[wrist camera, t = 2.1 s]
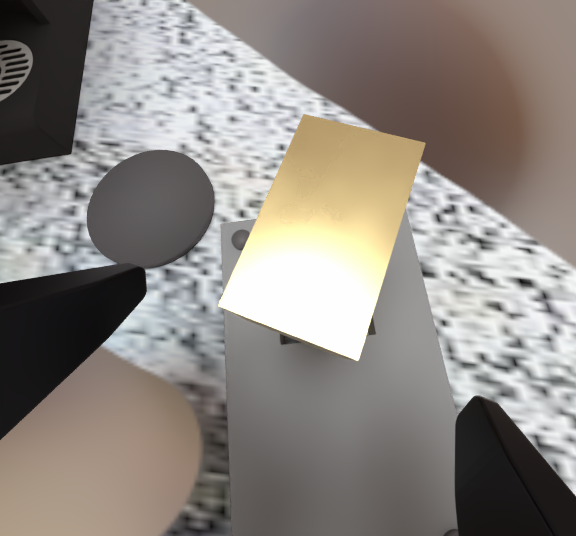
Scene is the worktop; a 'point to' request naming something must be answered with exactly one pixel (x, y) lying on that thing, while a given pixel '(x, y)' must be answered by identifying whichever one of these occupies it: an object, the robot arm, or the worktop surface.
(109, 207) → the rubber mat
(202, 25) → the worktop surface
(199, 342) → the worktop surface
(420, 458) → the slot plate
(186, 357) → the worktop surface
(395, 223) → the t key
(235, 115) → the worktop surface
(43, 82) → the coffee maker
